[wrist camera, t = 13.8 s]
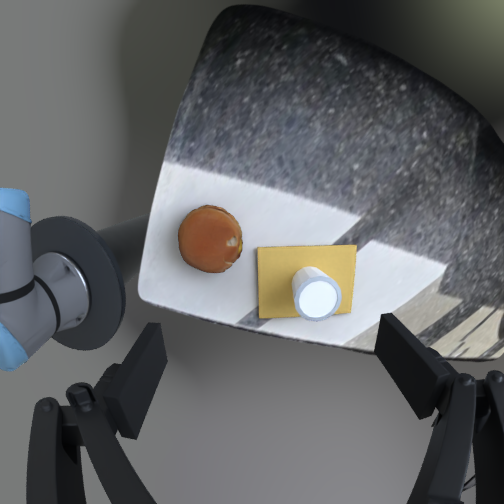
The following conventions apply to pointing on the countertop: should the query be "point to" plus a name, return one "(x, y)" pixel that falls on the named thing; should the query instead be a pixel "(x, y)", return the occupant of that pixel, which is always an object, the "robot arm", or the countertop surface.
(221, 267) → the burger
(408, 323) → the countertop surface
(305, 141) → the countertop surface
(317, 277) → the shot glass
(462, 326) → the countertop surface
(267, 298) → the cloth
